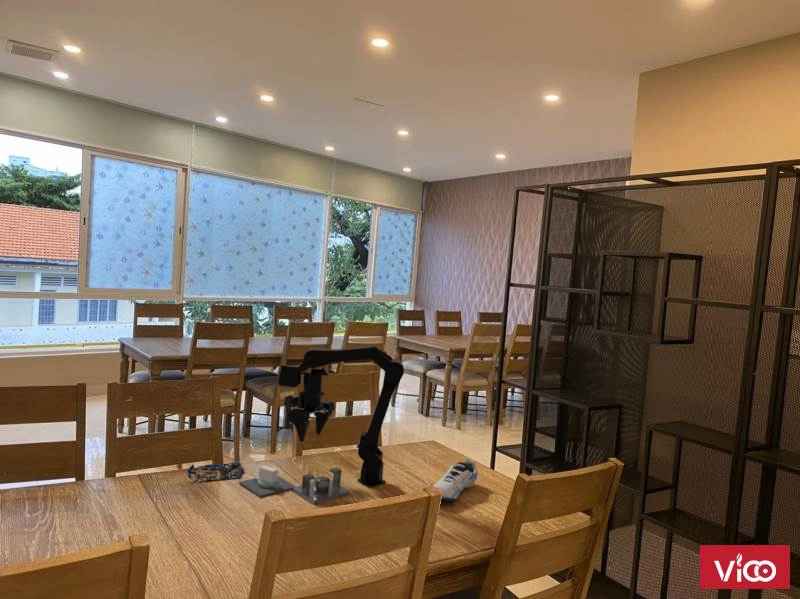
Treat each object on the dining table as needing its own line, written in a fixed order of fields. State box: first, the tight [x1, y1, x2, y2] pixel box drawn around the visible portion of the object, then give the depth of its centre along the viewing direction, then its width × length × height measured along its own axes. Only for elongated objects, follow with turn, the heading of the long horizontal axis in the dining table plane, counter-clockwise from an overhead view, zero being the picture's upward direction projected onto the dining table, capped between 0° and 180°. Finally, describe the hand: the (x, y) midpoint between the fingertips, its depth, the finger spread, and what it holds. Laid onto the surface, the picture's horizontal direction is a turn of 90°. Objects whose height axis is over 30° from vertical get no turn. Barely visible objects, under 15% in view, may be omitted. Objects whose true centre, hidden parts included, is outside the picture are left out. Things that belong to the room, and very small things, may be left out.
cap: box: [253, 465, 282, 489], centre depth 168 cm, size 10×6×5 cm, turn 61°
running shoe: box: [433, 458, 478, 502], centre depth 173 cm, size 9×25×9 cm, turn 151°
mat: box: [239, 475, 297, 498], centre depth 168 cm, size 12×12×1 cm
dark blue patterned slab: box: [187, 460, 245, 484], centre depth 175 cm, size 16×12×2 cm
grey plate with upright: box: [291, 467, 351, 505], centre depth 166 cm, size 13×11×6 cm
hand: (310, 437), depth 176 cm, fingers open, 9 cm apart
